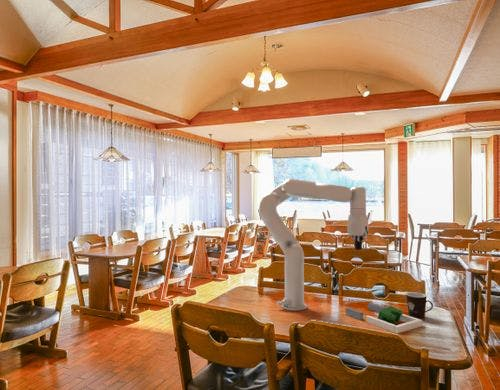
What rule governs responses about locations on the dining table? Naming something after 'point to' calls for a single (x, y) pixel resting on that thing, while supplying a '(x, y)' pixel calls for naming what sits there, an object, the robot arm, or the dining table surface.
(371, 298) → the dining table surface
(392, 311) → the green lumpy block
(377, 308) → the vise
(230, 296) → the dining table surface
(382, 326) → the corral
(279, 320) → the dining table surface
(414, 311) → the coffee mug
